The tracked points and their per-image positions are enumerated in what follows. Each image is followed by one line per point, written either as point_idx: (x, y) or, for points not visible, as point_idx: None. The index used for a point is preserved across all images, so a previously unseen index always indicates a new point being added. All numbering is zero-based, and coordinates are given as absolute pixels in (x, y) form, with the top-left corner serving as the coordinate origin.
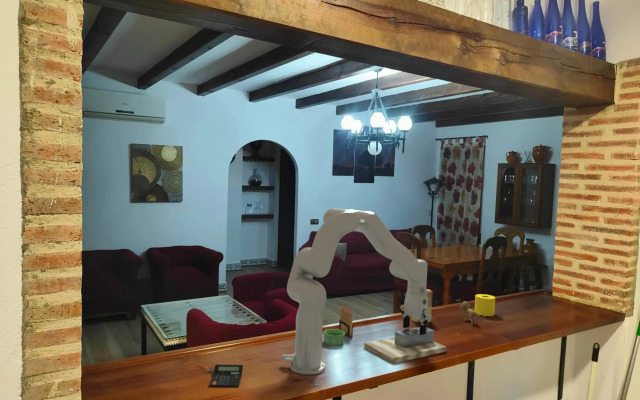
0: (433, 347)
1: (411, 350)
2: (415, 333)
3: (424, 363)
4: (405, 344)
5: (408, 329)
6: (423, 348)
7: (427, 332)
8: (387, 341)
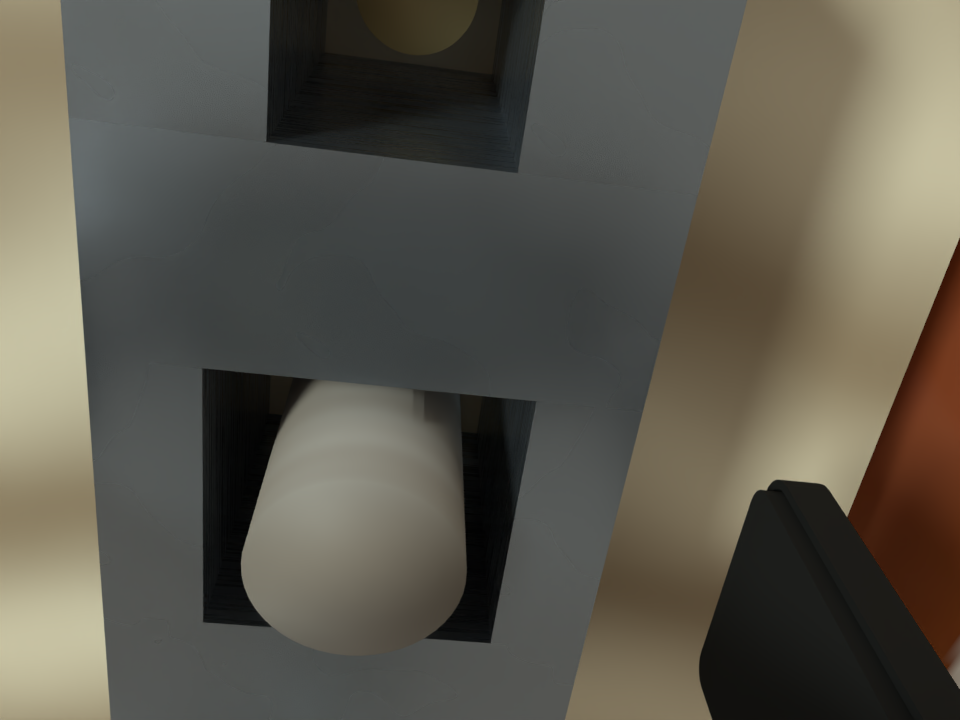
0: (878, 177)
1: (641, 665)
2: (542, 656)
3: (949, 652)
4: None
5: (136, 571)
6: (741, 422)
7: (686, 185)
8: (42, 698)
